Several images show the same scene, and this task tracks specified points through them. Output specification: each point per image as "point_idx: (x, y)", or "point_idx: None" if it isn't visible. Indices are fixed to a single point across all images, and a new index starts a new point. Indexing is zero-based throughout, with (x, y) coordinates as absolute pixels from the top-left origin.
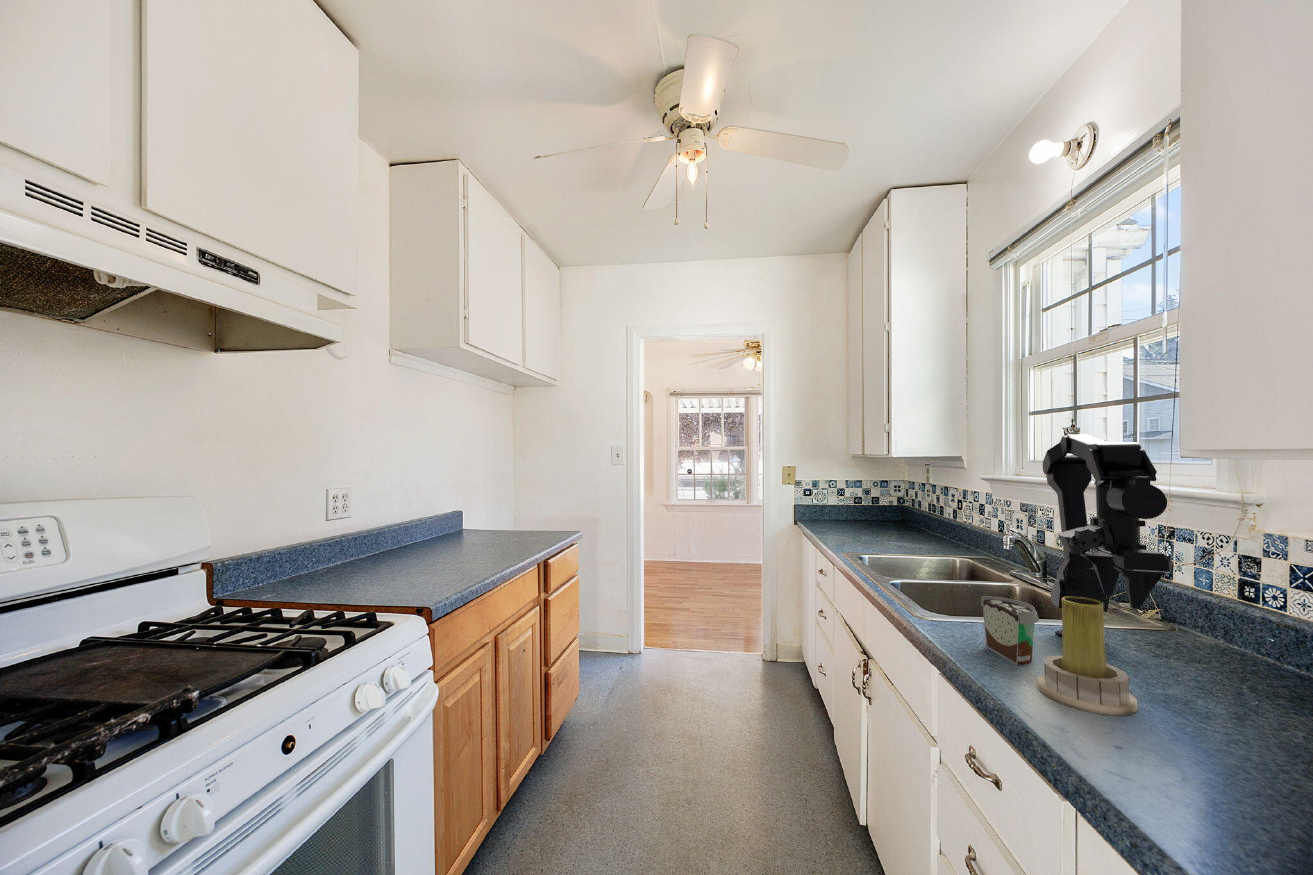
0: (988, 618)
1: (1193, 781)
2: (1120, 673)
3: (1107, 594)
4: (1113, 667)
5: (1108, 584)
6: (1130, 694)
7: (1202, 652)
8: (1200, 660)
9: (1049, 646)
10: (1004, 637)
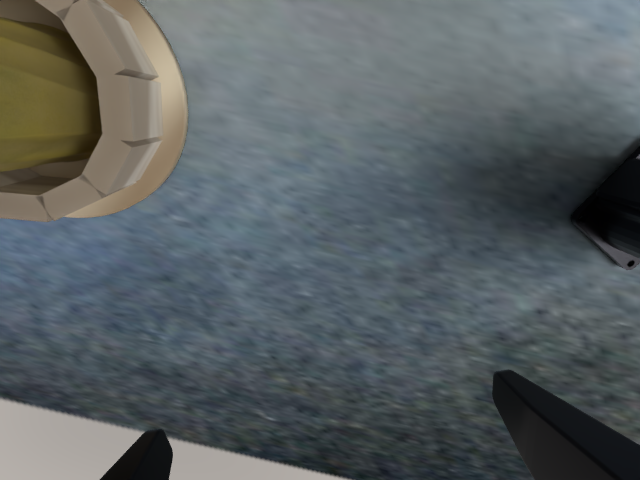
0: None
1: None
2: (22, 204)
3: (495, 382)
4: (79, 198)
5: (542, 454)
6: (103, 212)
7: None
8: None
9: (517, 90)
10: None
